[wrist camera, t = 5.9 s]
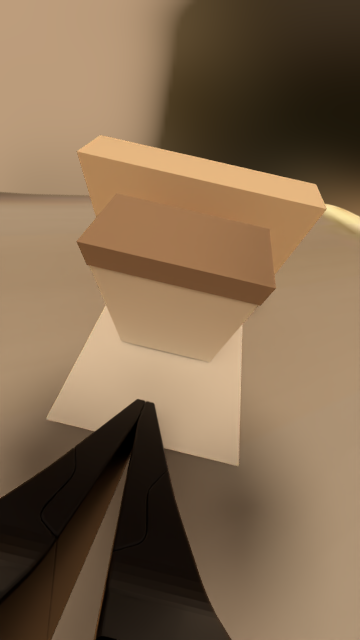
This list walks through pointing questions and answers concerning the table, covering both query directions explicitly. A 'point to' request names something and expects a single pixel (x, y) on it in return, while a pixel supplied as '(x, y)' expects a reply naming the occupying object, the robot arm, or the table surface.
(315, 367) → the table surface
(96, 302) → the table surface
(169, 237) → the brown topped beige block
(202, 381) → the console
